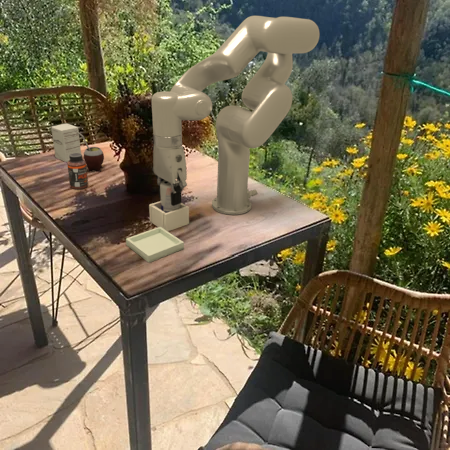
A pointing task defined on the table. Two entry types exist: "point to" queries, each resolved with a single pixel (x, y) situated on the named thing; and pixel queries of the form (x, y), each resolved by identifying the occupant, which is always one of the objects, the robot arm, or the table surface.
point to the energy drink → (167, 197)
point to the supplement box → (65, 141)
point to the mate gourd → (93, 157)
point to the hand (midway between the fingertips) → (170, 200)
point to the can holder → (169, 216)
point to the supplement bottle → (77, 171)
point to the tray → (154, 244)
